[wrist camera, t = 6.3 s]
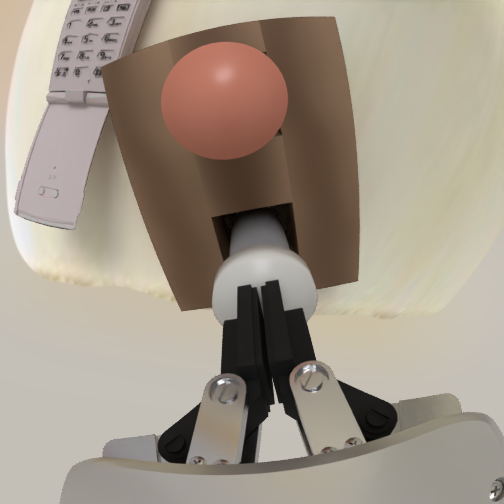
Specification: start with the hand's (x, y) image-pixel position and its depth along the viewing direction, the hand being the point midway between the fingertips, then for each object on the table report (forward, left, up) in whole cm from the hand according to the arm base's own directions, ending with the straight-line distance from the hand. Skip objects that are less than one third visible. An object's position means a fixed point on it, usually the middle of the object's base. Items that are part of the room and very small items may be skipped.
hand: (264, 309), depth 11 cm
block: (0, -4, -10) cm, 11 cm away
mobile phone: (+7, -16, -11) cm, 21 cm away
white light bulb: (0, 0, -7) cm, 7 cm away
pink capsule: (0, -8, -9) cm, 12 cm away
